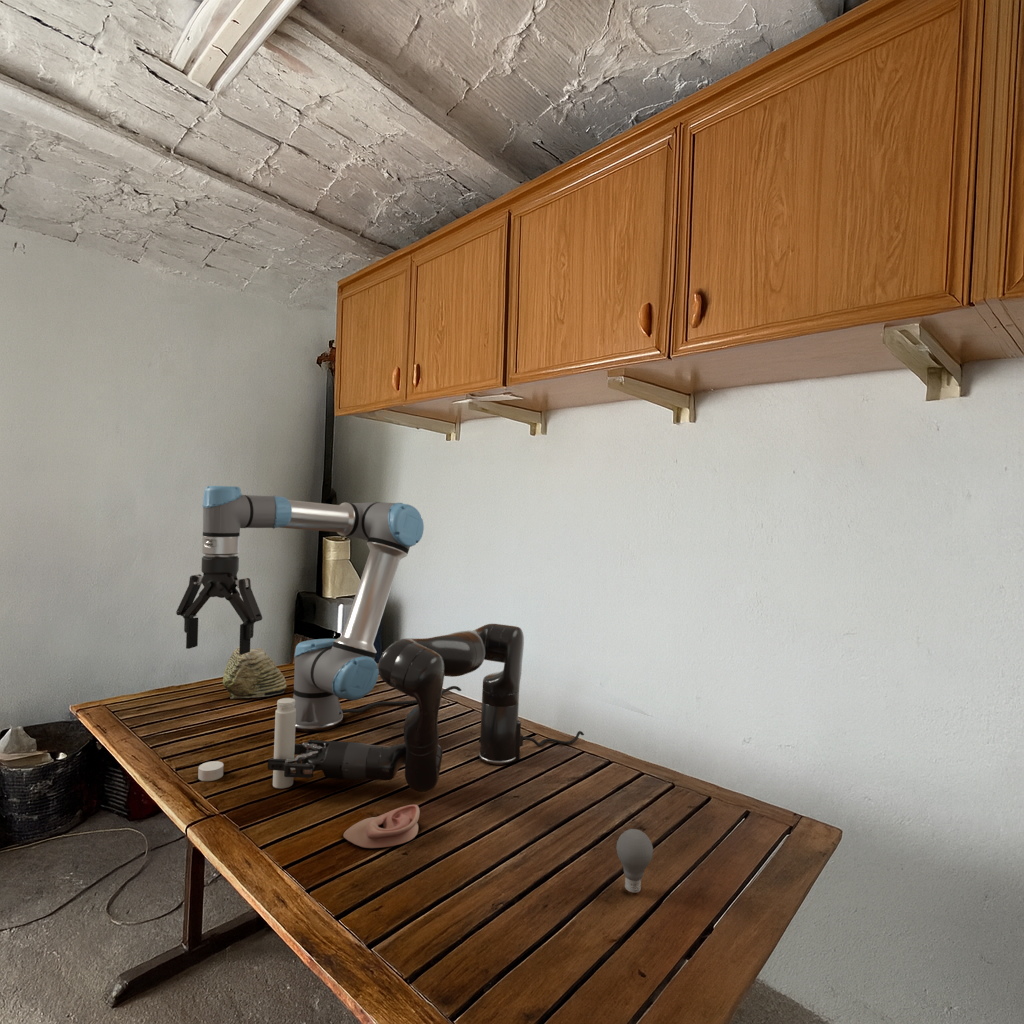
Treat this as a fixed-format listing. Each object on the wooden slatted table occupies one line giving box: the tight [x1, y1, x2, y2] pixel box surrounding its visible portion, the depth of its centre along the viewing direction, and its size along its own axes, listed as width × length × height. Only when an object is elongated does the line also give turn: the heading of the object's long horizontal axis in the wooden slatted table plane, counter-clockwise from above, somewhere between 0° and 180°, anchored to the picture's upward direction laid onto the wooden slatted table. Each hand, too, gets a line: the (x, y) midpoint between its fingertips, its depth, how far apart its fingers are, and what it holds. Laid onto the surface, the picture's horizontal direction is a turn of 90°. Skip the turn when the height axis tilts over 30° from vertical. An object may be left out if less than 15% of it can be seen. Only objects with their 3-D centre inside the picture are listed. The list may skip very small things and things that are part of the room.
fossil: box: [222, 646, 288, 699], centre depth 198 cm, size 9×18×15 cm, turn 132°
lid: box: [197, 760, 225, 782], centre depth 141 cm, size 5×5×2 cm
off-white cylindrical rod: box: [272, 697, 296, 789], centre depth 139 cm, size 4×4×18 cm
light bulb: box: [615, 828, 654, 894], centre depth 106 cm, size 6×6×10 cm
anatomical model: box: [342, 804, 421, 849], centre depth 120 cm, size 13×4×12 cm
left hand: (217, 650), depth 141 cm, fingers open, 13 cm apart
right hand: (276, 755), depth 139 cm, fingers open, 8 cm apart
